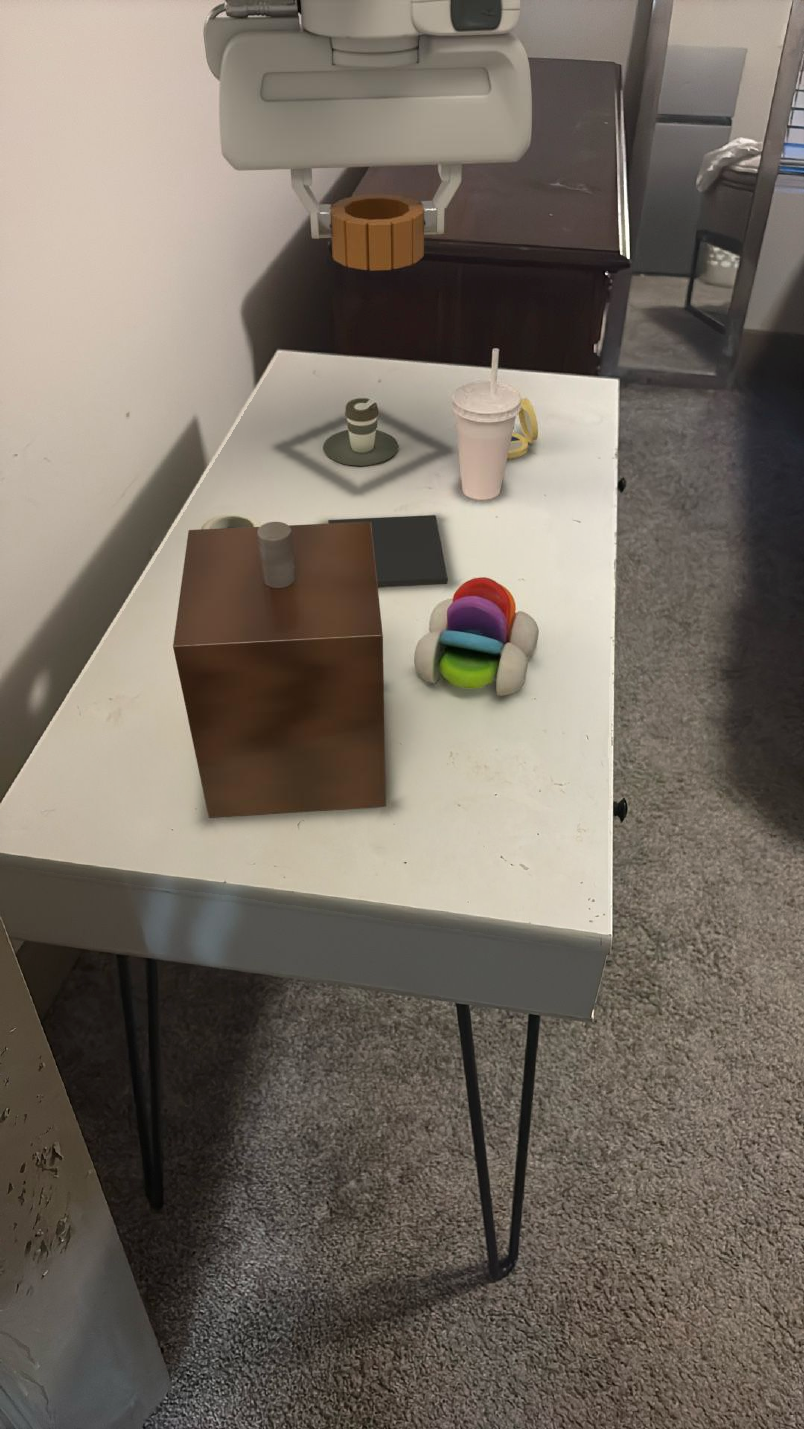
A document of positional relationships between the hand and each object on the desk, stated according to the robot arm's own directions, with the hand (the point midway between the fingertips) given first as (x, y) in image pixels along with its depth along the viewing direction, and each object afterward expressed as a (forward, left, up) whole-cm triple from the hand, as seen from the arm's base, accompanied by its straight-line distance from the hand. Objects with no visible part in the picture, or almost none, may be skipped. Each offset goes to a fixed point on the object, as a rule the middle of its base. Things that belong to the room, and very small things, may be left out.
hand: (378, 234), depth 70 cm
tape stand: (-8, -23, -28) cm, 37 cm away
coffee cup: (-1, +20, -28) cm, 34 cm away
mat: (0, +1, -28) cm, 28 cm away
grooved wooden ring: (0, 0, -1) cm, 1 cm away
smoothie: (+10, +11, -28) cm, 32 cm away
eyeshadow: (+14, +19, -28) cm, 37 cm away
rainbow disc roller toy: (+6, -15, -28) cm, 32 cm away
